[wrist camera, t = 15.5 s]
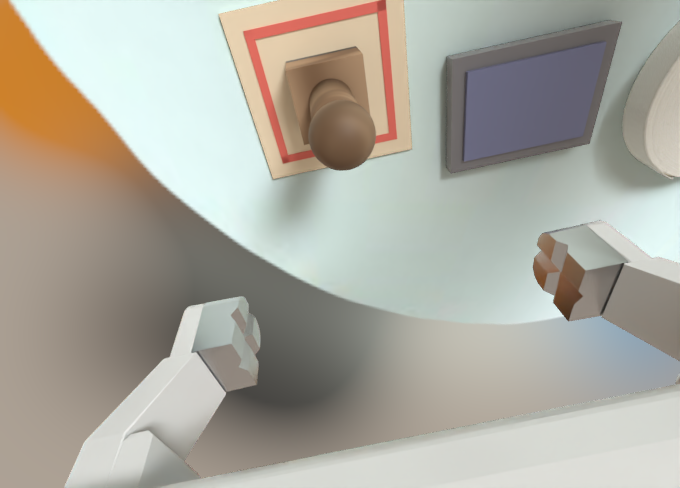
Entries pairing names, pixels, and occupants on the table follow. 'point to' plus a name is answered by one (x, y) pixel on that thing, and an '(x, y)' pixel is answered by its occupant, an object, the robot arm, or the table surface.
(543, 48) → the ink pad
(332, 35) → the tan card
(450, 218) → the table surface
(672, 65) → the roll of tape
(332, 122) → the walnut stamp
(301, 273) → the table surface
